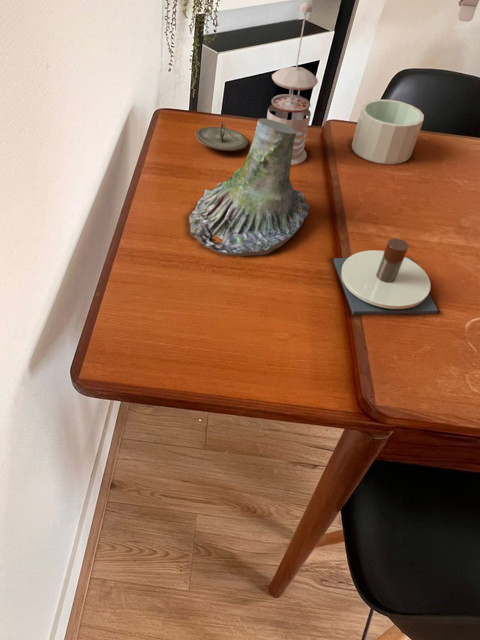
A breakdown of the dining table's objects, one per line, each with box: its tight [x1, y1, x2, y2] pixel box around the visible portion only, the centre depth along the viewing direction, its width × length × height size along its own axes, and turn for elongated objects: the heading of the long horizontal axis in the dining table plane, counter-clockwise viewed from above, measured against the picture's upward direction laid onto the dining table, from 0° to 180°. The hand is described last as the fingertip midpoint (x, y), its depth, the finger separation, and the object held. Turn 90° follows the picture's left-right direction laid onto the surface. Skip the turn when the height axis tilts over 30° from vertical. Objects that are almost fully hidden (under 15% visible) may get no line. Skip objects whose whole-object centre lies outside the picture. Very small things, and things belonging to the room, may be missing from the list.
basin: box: [351, 99, 425, 165], centre depth 103 cm, size 12×12×8 cm
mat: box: [333, 257, 439, 315], centre depth 77 cm, size 12×12×1 cm
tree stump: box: [188, 117, 312, 257], centre depth 83 cm, size 18×20×18 cm
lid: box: [194, 121, 249, 152], centre depth 102 cm, size 11×10×5 cm
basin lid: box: [341, 238, 431, 309], centre depth 74 cm, size 13×13×7 cm
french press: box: [266, 1, 319, 166], centre depth 94 cm, size 10×12×25 cm
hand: (464, 12), depth 74 cm, fingers open, 8 cm apart
